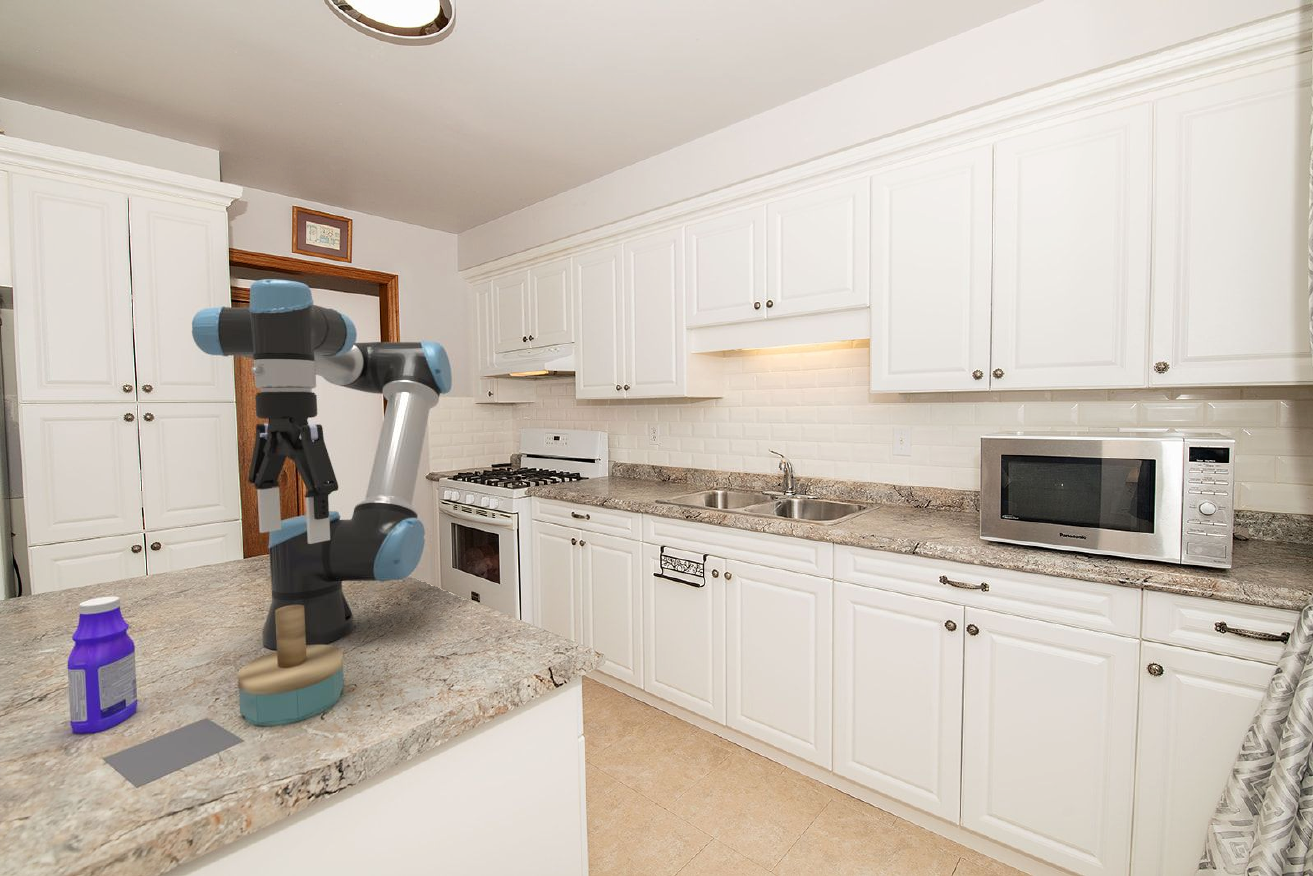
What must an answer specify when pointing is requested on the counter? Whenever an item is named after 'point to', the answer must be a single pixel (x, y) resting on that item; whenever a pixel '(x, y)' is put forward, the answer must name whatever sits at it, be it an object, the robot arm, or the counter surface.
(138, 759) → the mat
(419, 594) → the counter surface
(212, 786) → the counter surface
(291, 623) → the lid
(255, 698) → the bowl
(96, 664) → the bottle
